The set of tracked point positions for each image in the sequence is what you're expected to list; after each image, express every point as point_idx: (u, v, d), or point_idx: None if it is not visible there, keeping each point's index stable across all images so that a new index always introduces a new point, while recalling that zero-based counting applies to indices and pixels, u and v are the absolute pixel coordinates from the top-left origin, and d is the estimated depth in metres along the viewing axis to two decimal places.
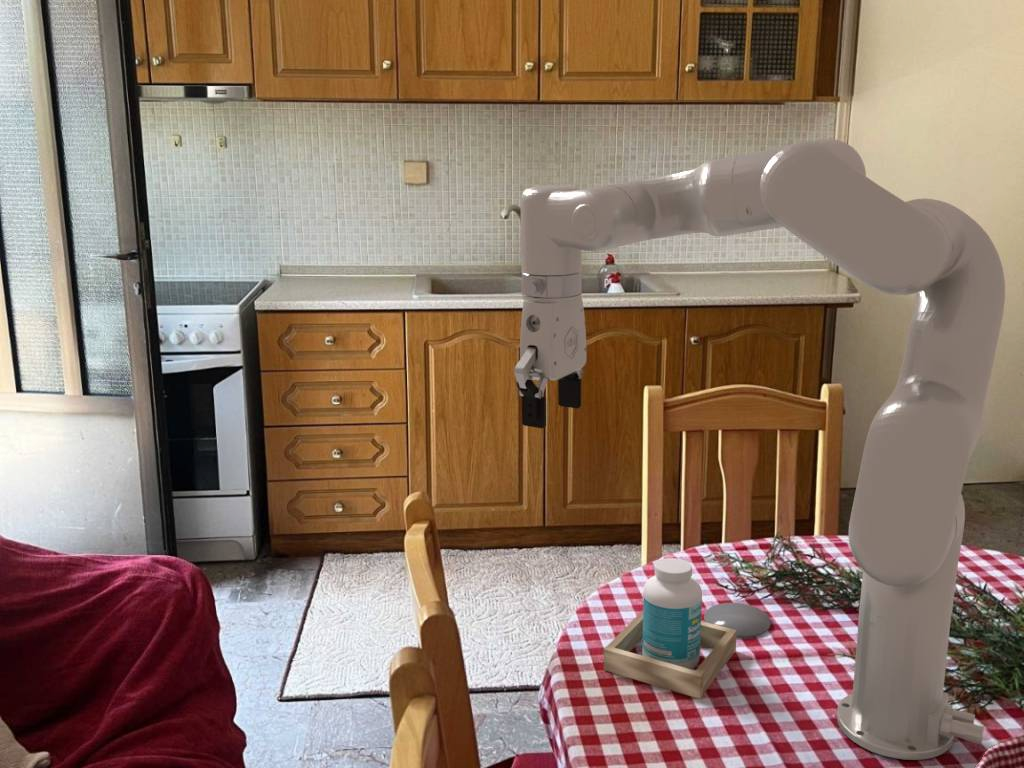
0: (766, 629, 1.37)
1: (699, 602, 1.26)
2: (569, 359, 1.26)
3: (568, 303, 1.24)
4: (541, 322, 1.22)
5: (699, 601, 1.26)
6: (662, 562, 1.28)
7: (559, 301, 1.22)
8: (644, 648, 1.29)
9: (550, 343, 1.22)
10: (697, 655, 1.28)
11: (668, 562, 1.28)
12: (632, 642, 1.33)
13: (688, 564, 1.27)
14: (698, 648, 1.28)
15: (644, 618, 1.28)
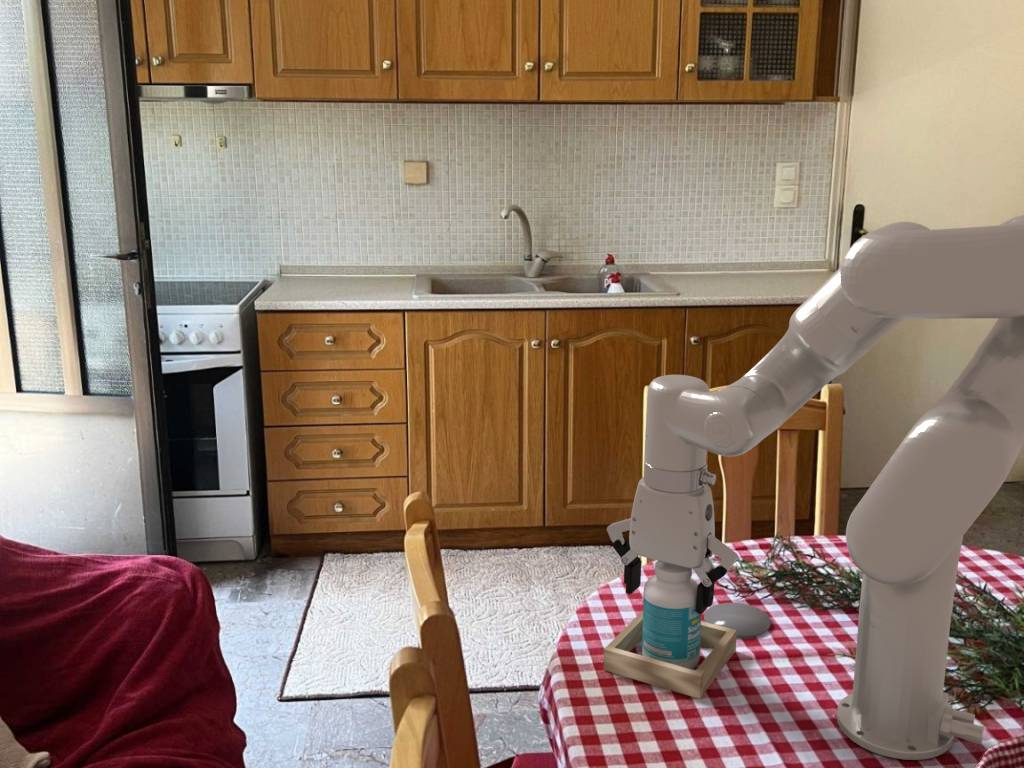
0: (766, 629, 1.37)
1: None
2: None
3: None
4: (712, 507, 1.23)
5: None
6: (662, 562, 1.28)
7: None
8: (644, 648, 1.29)
9: None
10: (697, 655, 1.28)
11: None
12: (632, 642, 1.33)
13: None
14: (698, 648, 1.28)
15: (644, 618, 1.28)
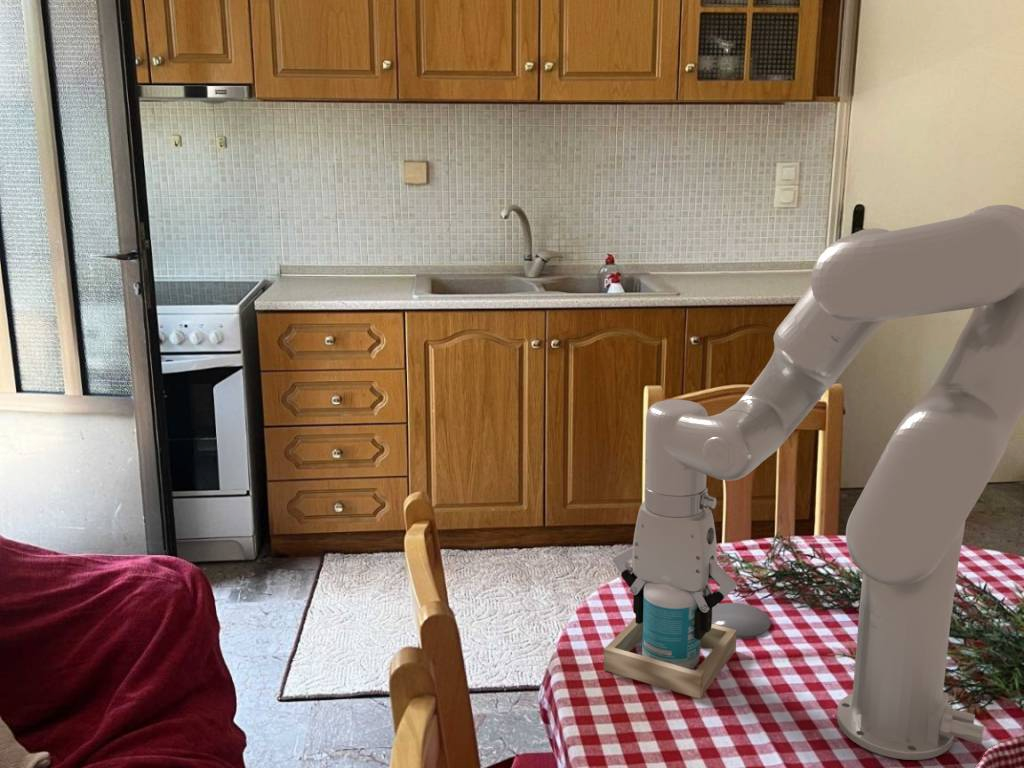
0: (766, 629, 1.37)
1: None
2: None
3: None
4: (714, 530, 1.24)
5: None
6: None
7: None
8: (644, 648, 1.29)
9: None
10: (697, 655, 1.28)
11: None
12: (632, 642, 1.33)
13: None
14: (698, 648, 1.28)
15: (644, 618, 1.28)
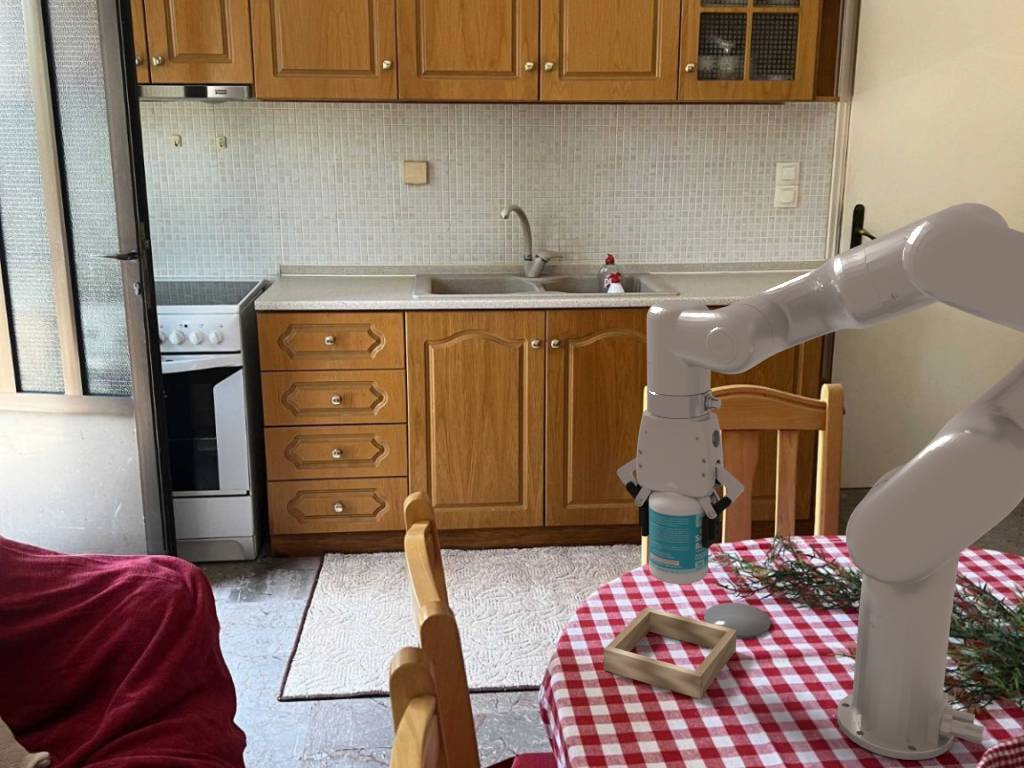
0: (766, 629, 1.37)
1: None
2: None
3: None
4: (719, 434, 1.20)
5: None
6: None
7: None
8: (651, 561, 1.25)
9: None
10: (705, 566, 1.24)
11: None
12: (632, 642, 1.33)
13: None
14: (707, 559, 1.24)
15: (650, 529, 1.24)
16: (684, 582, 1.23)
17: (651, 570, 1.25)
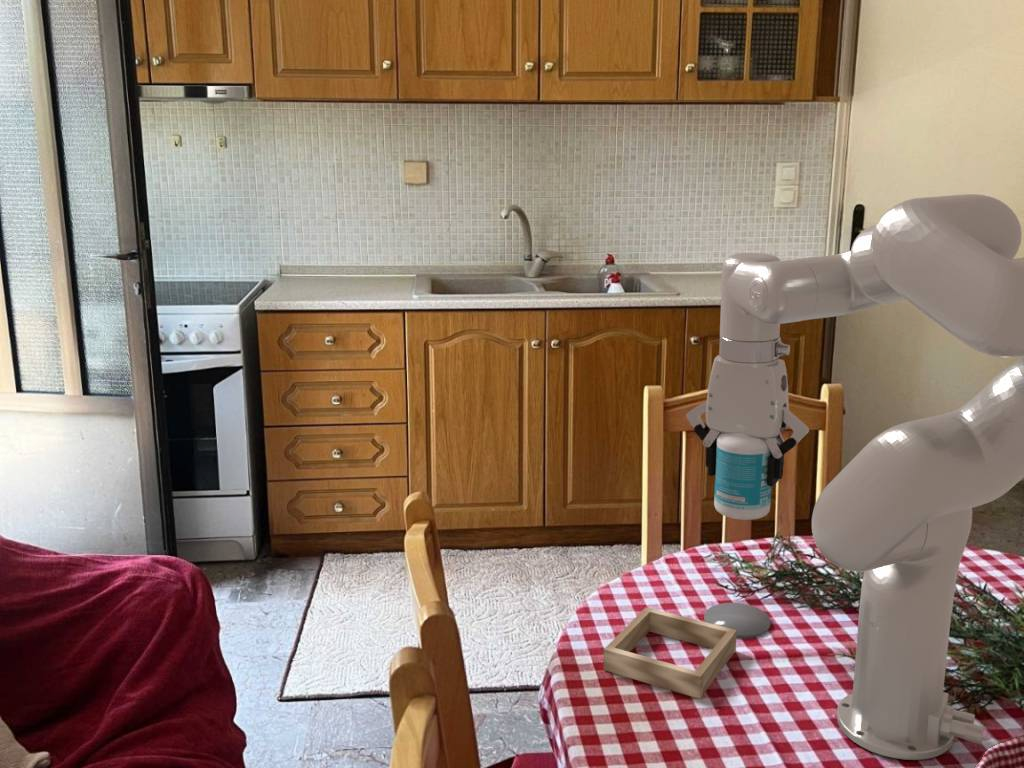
0: (766, 629, 1.37)
1: None
2: None
3: None
4: (786, 379, 1.29)
5: None
6: None
7: None
8: (717, 498, 1.34)
9: None
10: (768, 503, 1.33)
11: None
12: (632, 642, 1.33)
13: None
14: (770, 496, 1.33)
15: (717, 468, 1.33)
16: (749, 518, 1.32)
17: (717, 507, 1.34)
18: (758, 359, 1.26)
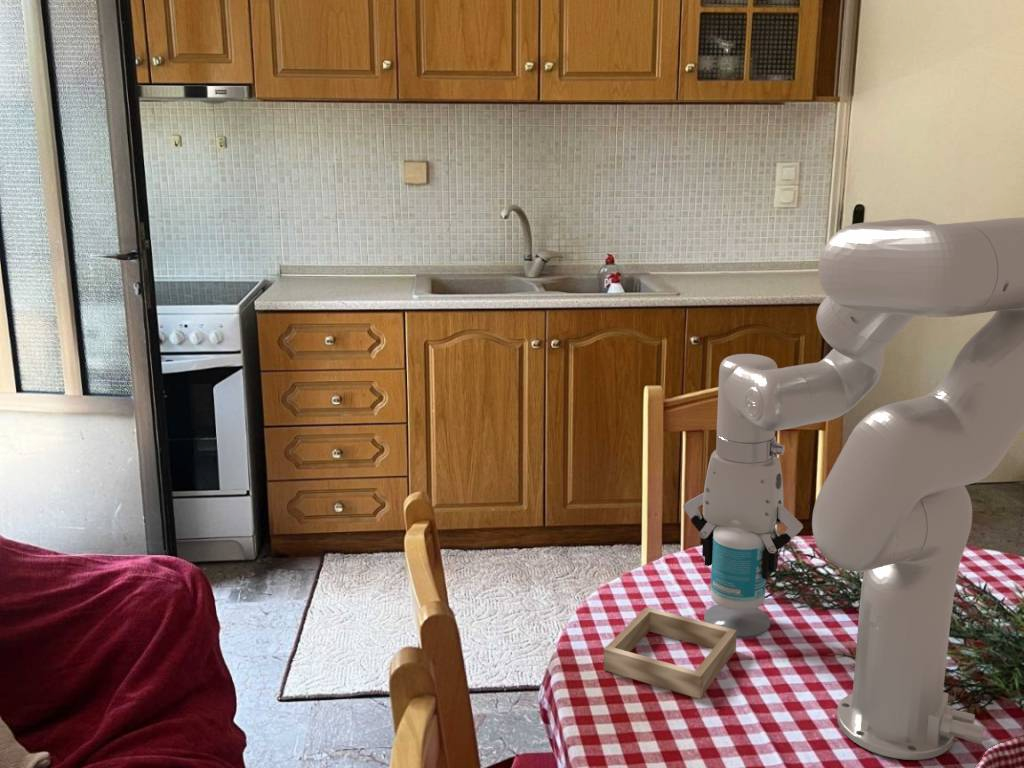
0: (766, 629, 1.37)
1: None
2: None
3: None
4: (781, 476, 1.32)
5: None
6: None
7: None
8: (713, 588, 1.37)
9: None
10: (763, 594, 1.36)
11: None
12: (632, 642, 1.33)
13: None
14: (764, 588, 1.37)
15: (714, 559, 1.37)
16: (744, 609, 1.35)
17: (713, 596, 1.38)
18: (754, 459, 1.29)
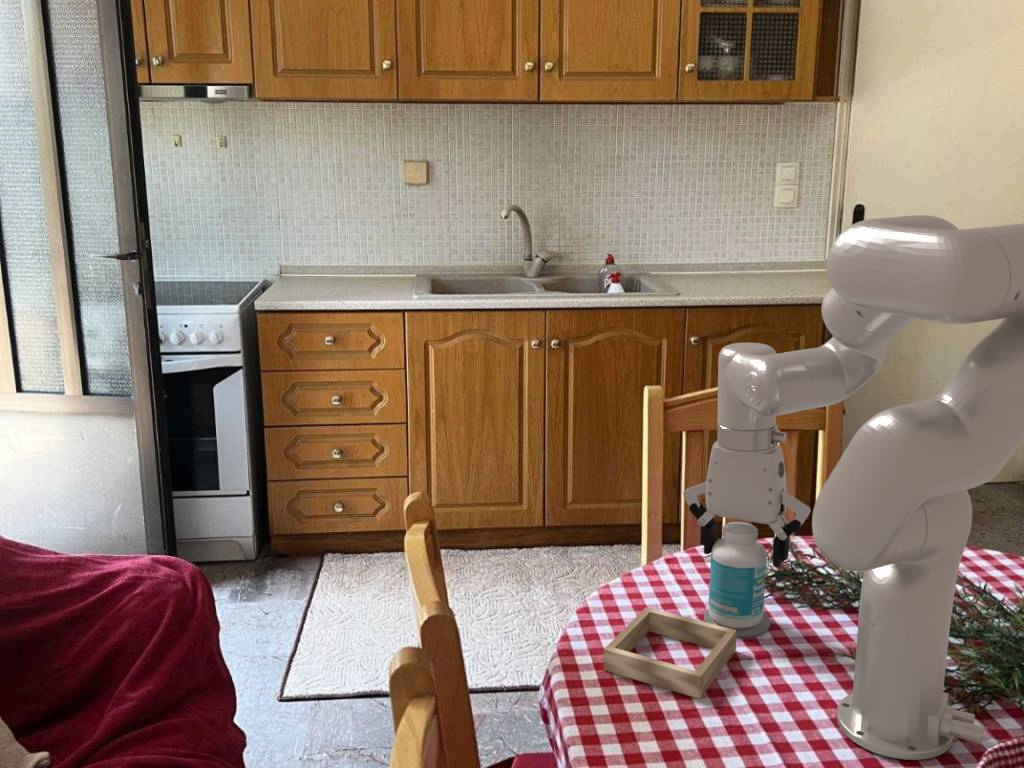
0: (766, 629, 1.37)
1: (764, 563, 1.35)
2: None
3: None
4: (784, 465, 1.32)
5: (764, 562, 1.35)
6: (730, 525, 1.37)
7: None
8: (711, 605, 1.38)
9: None
10: (761, 613, 1.37)
11: (735, 525, 1.37)
12: (632, 642, 1.33)
13: (754, 527, 1.36)
14: (762, 606, 1.37)
15: (711, 577, 1.37)
16: (741, 627, 1.36)
17: (711, 614, 1.38)
18: (755, 447, 1.29)
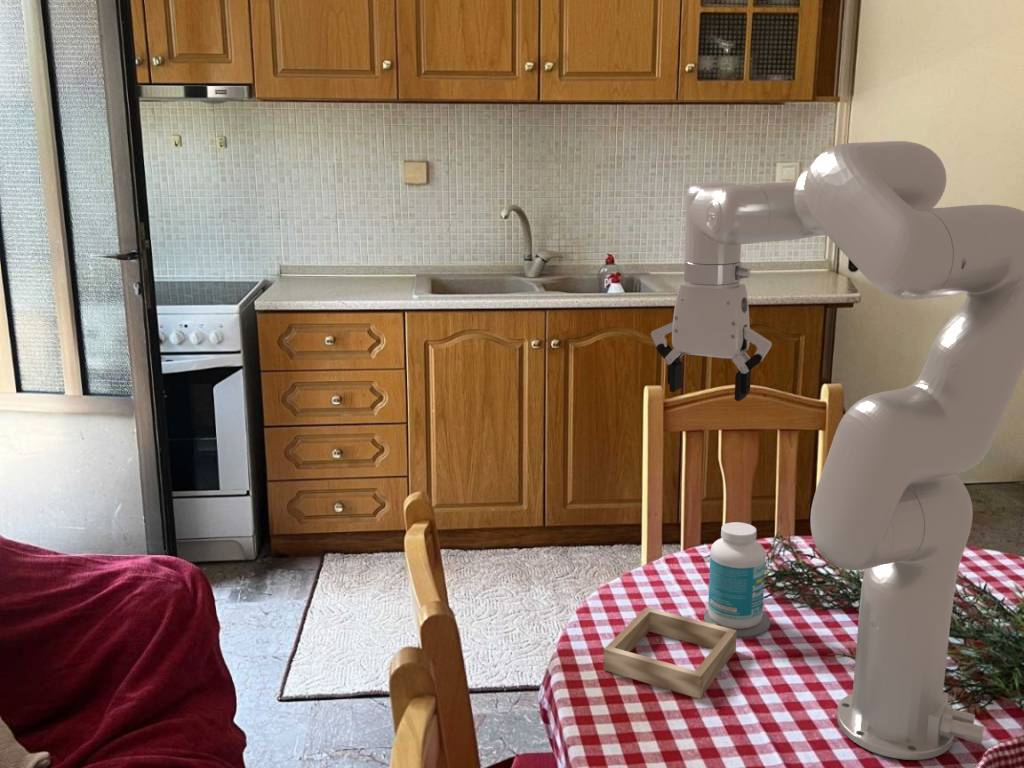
0: (766, 629, 1.37)
1: (763, 563, 1.35)
2: None
3: None
4: (747, 302, 1.37)
5: (763, 562, 1.35)
6: (728, 525, 1.37)
7: None
8: (710, 606, 1.38)
9: None
10: (760, 613, 1.37)
11: (734, 525, 1.37)
12: (632, 642, 1.33)
13: (753, 527, 1.36)
14: (762, 606, 1.37)
15: (711, 577, 1.37)
16: (741, 627, 1.36)
17: (710, 614, 1.38)
18: (719, 281, 1.34)
